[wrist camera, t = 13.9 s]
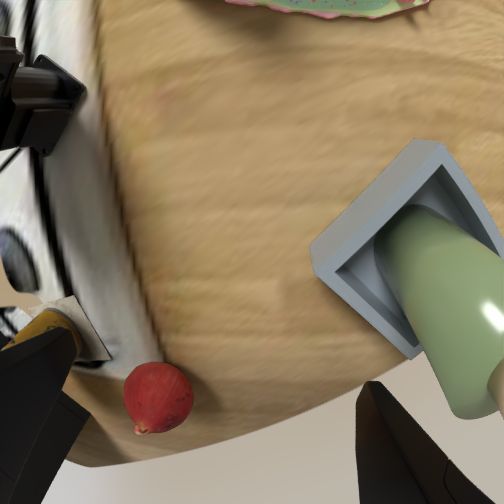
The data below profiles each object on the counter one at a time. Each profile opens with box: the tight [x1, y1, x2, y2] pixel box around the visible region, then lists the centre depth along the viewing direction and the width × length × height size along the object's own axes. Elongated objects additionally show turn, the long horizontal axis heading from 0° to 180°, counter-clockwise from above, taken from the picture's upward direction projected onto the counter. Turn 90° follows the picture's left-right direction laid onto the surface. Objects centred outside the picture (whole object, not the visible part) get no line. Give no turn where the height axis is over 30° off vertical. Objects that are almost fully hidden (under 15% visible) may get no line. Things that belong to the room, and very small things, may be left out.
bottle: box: [374, 204, 504, 420], centre depth 12 cm, size 6×6×14 cm
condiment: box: [1, 295, 111, 365], centre depth 21 cm, size 7×8×12 cm
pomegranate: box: [123, 362, 194, 436], centre depth 22 cm, size 6×6×8 cm
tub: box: [309, 138, 504, 360], centre depth 17 cm, size 10×10×4 cm
